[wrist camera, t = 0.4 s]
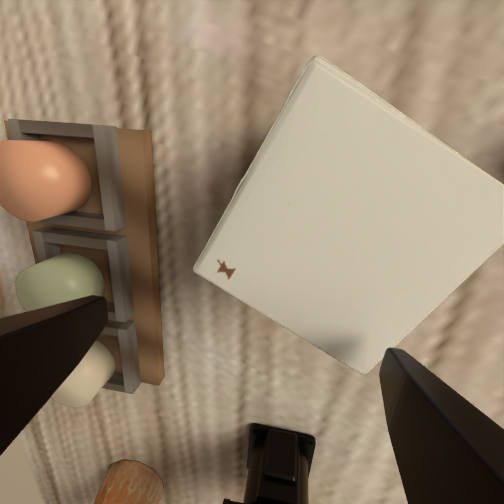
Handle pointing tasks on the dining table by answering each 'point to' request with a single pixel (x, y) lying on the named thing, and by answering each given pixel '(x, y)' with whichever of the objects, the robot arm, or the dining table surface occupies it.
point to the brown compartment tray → (111, 239)
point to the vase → (130, 485)
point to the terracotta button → (42, 179)
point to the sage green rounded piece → (58, 281)
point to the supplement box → (352, 221)
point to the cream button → (86, 377)
